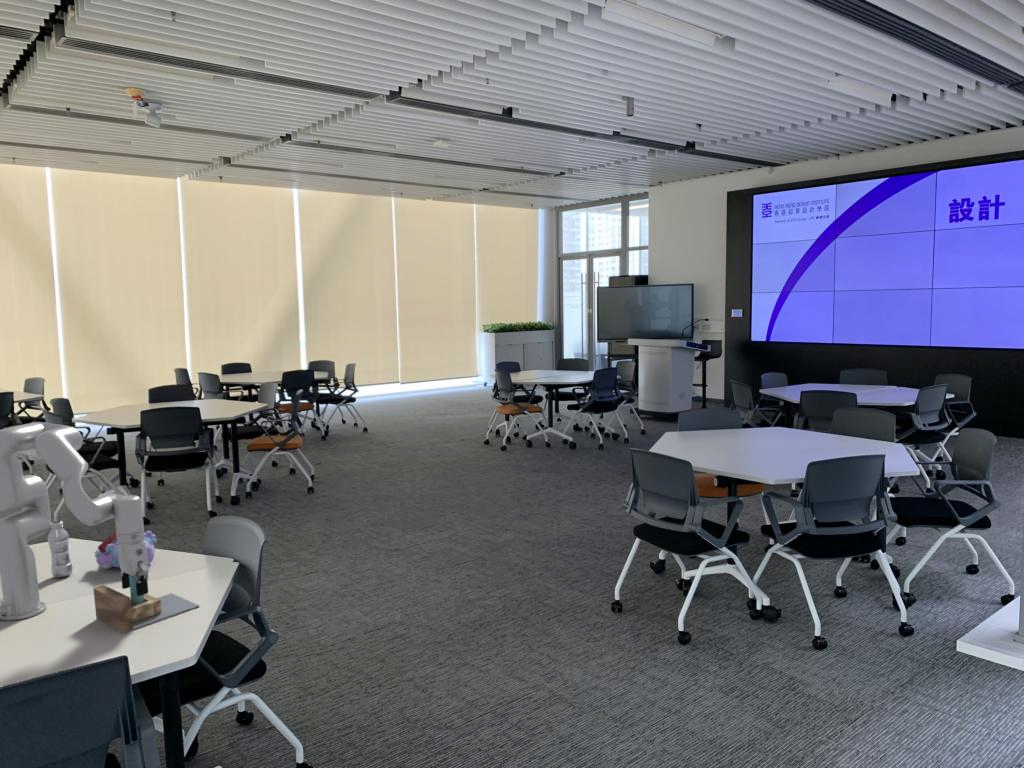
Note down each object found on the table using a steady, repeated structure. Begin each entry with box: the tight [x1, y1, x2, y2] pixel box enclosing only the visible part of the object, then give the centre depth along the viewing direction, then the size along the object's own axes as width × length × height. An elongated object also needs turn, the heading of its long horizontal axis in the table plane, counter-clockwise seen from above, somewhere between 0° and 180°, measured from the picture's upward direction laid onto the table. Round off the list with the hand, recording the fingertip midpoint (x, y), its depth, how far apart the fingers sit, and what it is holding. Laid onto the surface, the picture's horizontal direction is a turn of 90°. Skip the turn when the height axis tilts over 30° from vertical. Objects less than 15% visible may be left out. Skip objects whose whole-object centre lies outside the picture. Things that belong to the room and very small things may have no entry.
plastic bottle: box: [47, 520, 74, 578], centre depth 272 cm, size 6×7×20 cm
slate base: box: [95, 593, 200, 635], centre depth 236 cm, size 24×18×1 cm
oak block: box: [130, 593, 162, 622], centre depth 233 cm, size 10×10×4 cm
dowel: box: [129, 571, 144, 606], centre depth 233 cm, size 4×4×14 cm
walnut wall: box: [92, 584, 133, 632], centre depth 228 cm, size 3×18×10 cm, turn 51°
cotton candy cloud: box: [94, 530, 158, 570], centre depth 282 cm, size 20×22×18 cm
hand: (135, 590), depth 233 cm, fingers open, 9 cm apart
